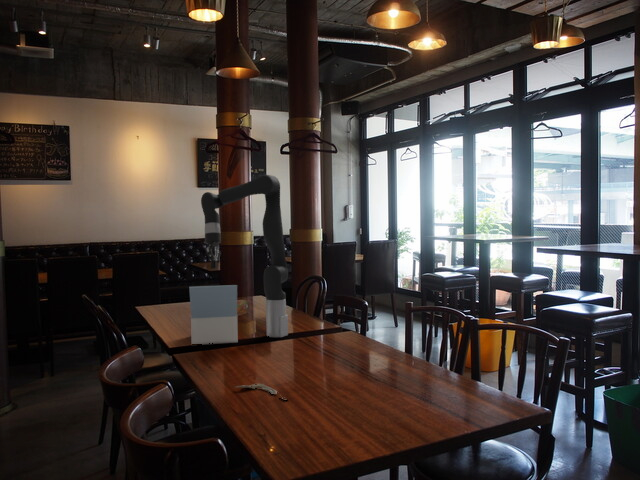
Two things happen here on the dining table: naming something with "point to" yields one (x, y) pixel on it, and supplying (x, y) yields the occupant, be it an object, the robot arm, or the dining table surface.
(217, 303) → the lid flap
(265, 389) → the jawbone
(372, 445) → the dining table surface
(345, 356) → the dining table surface
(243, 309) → the tin
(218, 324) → the carton
